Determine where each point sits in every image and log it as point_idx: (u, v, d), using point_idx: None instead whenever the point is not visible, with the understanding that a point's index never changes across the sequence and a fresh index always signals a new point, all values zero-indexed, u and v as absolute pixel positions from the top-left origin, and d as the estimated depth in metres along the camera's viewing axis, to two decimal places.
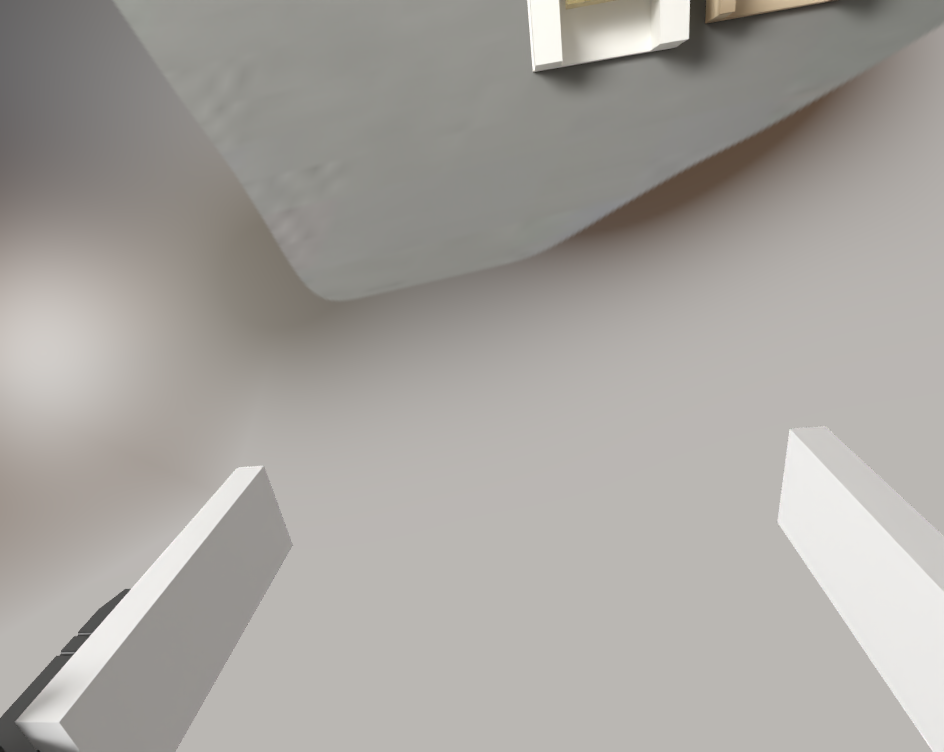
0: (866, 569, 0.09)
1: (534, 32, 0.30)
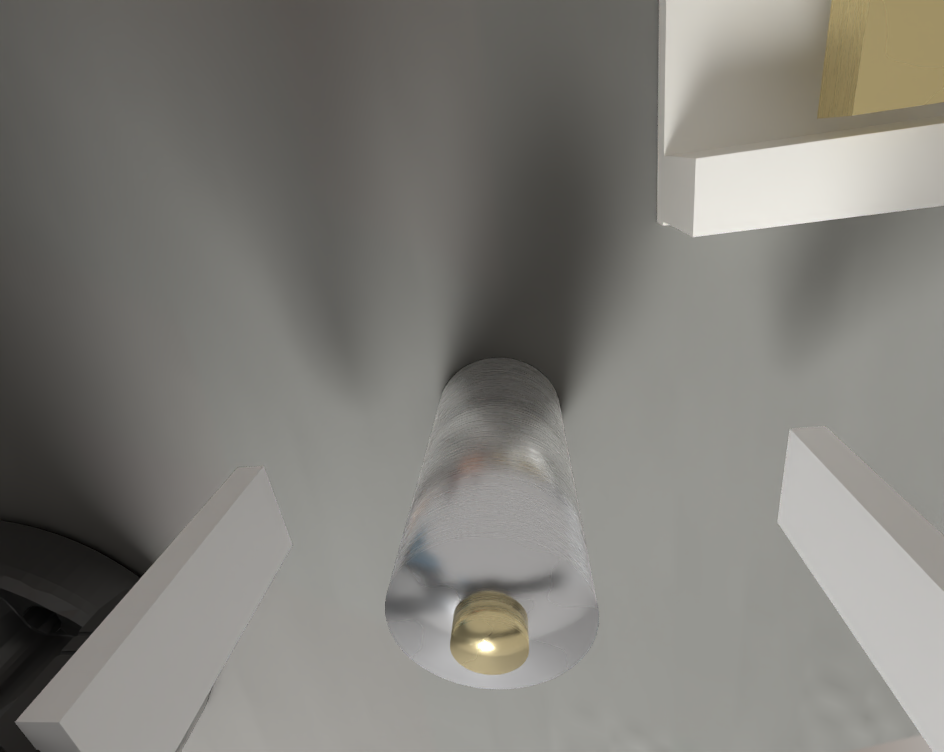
0: (866, 569, 0.09)
1: None
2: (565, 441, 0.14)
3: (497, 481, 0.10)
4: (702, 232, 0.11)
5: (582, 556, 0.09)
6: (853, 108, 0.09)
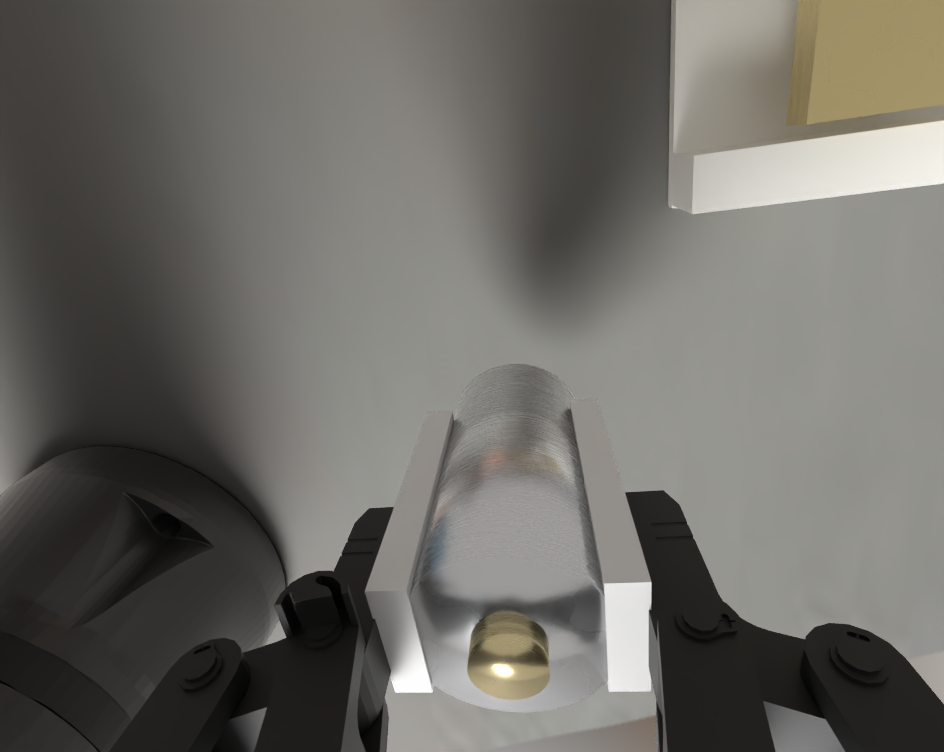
0: None
1: None
2: None
3: (517, 496, 0.10)
4: (699, 210, 0.15)
5: None
6: (807, 119, 0.13)
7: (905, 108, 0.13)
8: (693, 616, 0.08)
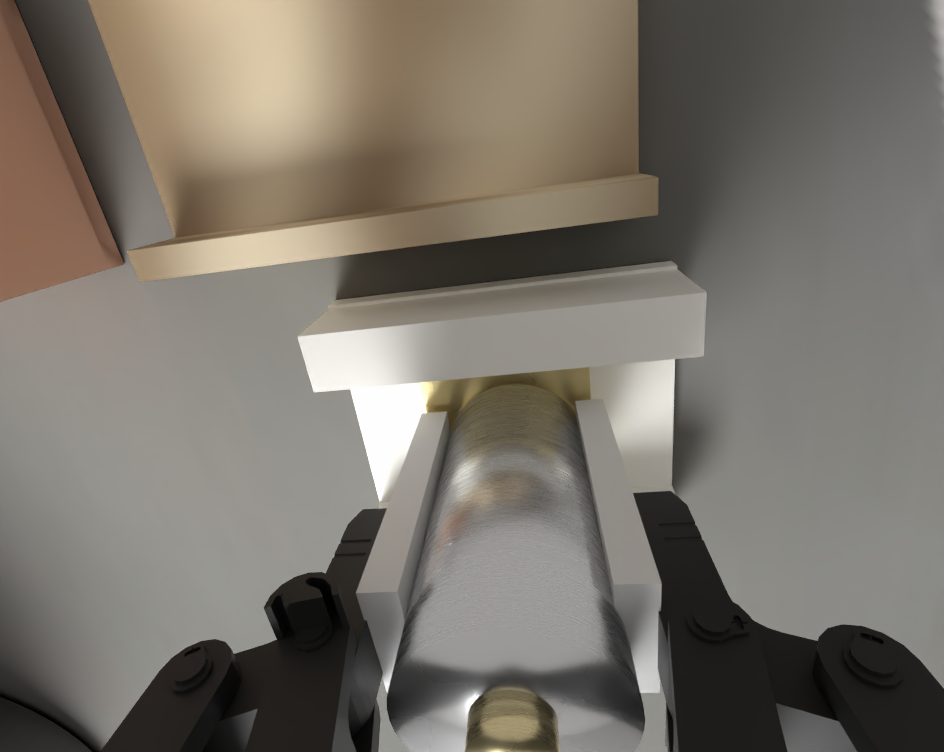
0: None
1: None
2: None
3: (519, 548, 0.09)
4: None
5: (623, 644, 0.08)
6: None
7: None
8: (704, 617, 0.07)
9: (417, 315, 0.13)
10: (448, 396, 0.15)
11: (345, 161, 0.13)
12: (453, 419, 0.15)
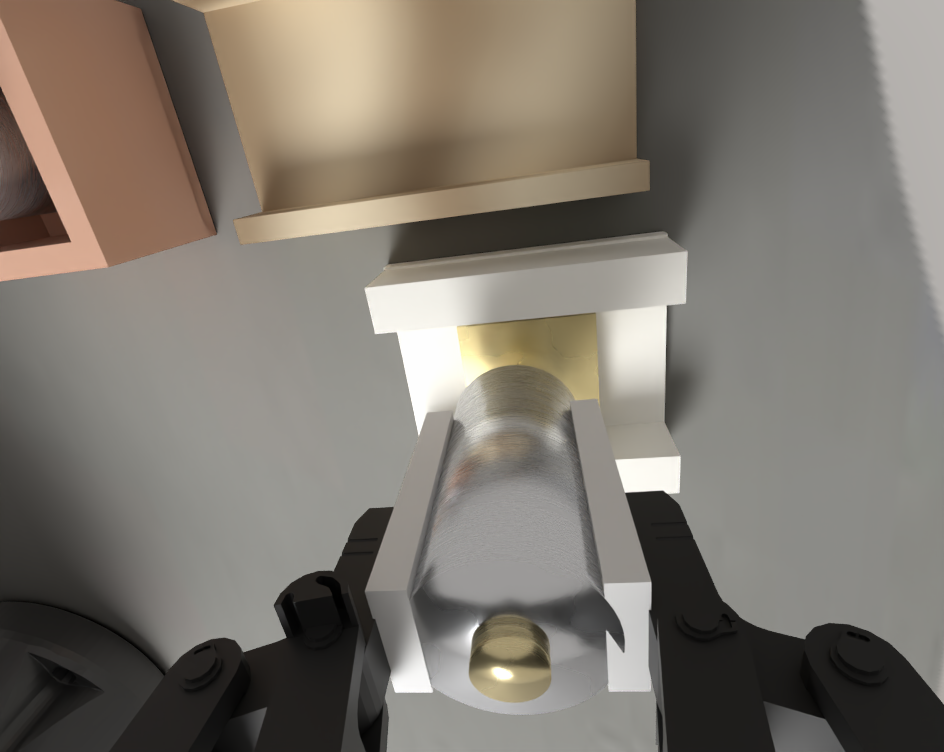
0: None
1: None
2: None
3: (516, 499, 0.10)
4: None
5: None
6: None
7: None
8: (693, 616, 0.08)
9: (459, 272, 0.17)
10: (480, 343, 0.18)
11: (402, 149, 0.17)
12: (484, 362, 0.18)
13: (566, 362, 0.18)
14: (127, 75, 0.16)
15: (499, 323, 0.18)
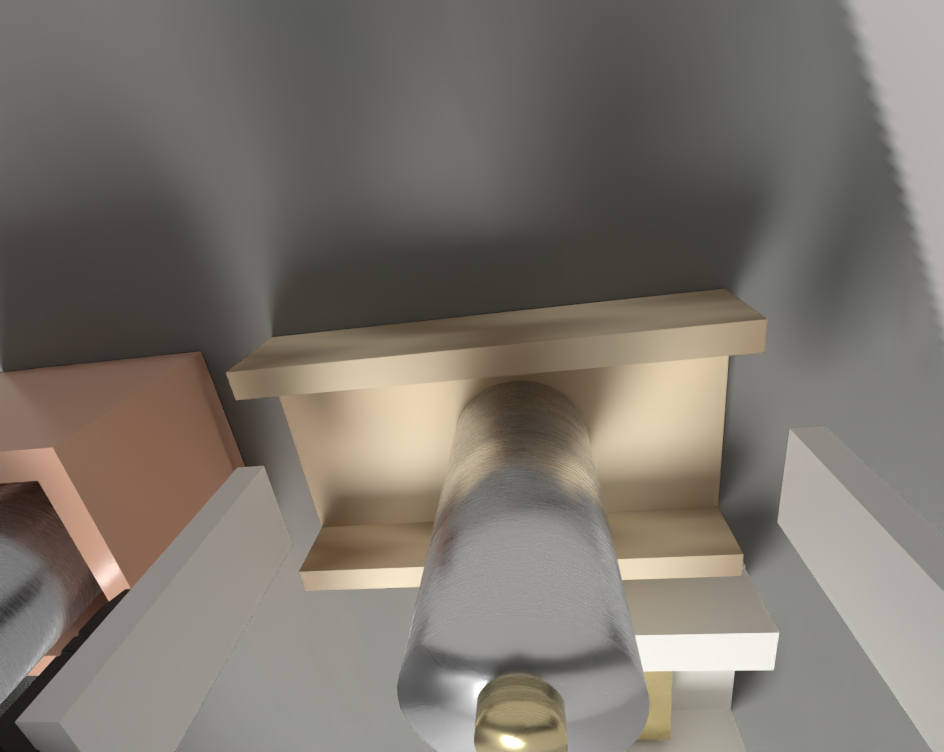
0: (866, 569, 0.09)
1: None
2: (597, 478, 0.12)
3: (526, 539, 0.09)
4: None
5: (628, 632, 0.08)
6: None
7: None
8: None
9: None
10: None
11: None
12: None
13: None
14: (190, 438, 0.15)
15: None
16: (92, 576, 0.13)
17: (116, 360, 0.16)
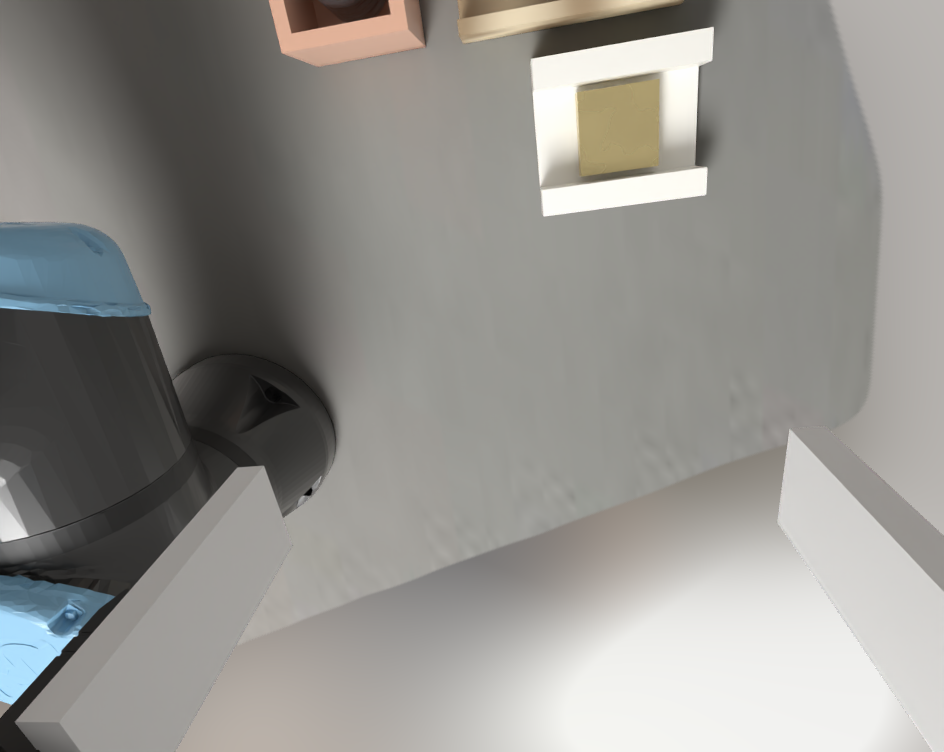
0: (866, 569, 0.09)
1: (678, 197, 0.32)
2: None
3: None
4: (546, 214, 0.33)
5: None
6: (581, 174, 0.32)
7: (617, 170, 0.32)
8: None
9: None
10: (590, 102, 0.31)
11: None
12: (591, 116, 0.31)
13: (640, 113, 0.31)
14: None
15: (602, 88, 0.30)
16: None
17: None
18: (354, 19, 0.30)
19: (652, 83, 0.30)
